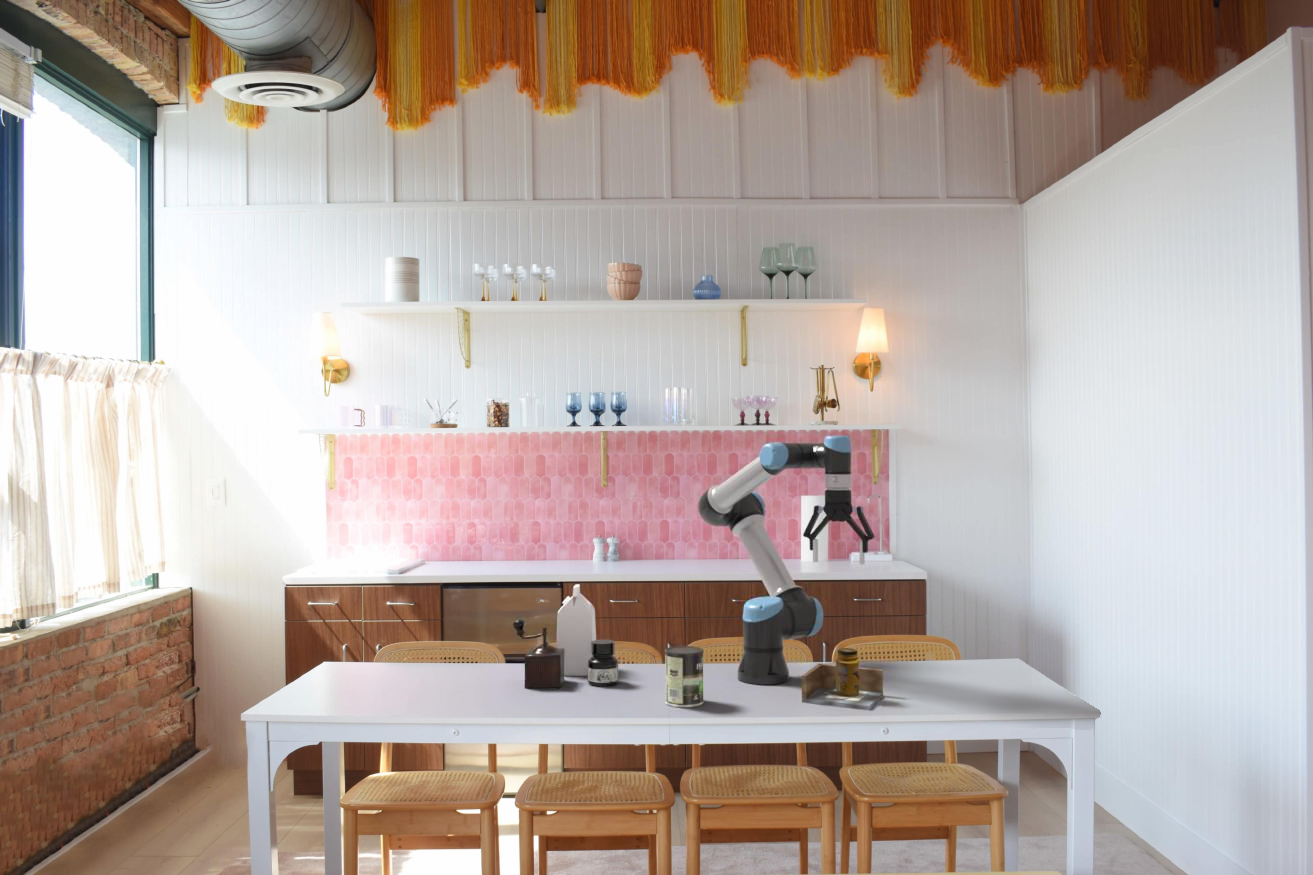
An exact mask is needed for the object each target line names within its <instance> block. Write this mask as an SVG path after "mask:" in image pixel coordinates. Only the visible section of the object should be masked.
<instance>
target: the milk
mask: <svg viewBox="0 0 1313 875" xmlns="http://www.w3.org/2000/svg"><path fill="white" fill-rule="evenodd" d="M561 604H563V605H562V606H561V607H560V608H559V609H558V611H557V616H556V617H557V619H556V645H555V648H558V649H564V677H565V676H566V677H568V676H573V677H575V676H579V677H580V676H581V677H582V676H583V677H584V676H587V677H588V660H589V659H590V658H591V657H592V656H593V655H592V654H591V653H592V652H591V642H592V641H594V640H597V633H596V611H595V610H596V609H595V606H594V605H593V604H592V602H590V600H588V599H587V598H586V597H585V596H584V595H583V594H582V593H581V585H580V584H575V585H574V586H573V588H572V596H571V597H570V596H566V598H565V599H564V600H563V601H562V602H561Z"/></svg>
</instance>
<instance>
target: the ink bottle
mask: <svg viewBox="0 0 1313 875" xmlns="http://www.w3.org/2000/svg"><path fill="white" fill-rule="evenodd" d="M615 644H616V643H615V640H612V639H596V640H594V641H592V642H591V652H592V653H591V654H592V655H593V656H592V657H591V658H590V659H589V660H588V676H587V683H588V684H589V685H590V686H595V687H610V686H615V685H616V684H618V683H619V659H618V658H617V657H615V652H616V651H615V650H616V649H615V648H616V645H615Z"/></svg>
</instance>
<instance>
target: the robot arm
mask: <svg viewBox="0 0 1313 875" xmlns="http://www.w3.org/2000/svg"><path fill="white" fill-rule="evenodd" d="M851 444H852V443H851V437H849V436H848V435H826V436H825V437H824V441H823V442H820V443H819V442H778V441H775V442H769V443H765V444H764V445H762V447H761V449H760V450H759V451H760V452H759V456H758V457H756V458H755V459H753V460H752V461H751V462H749V463H748V464H747V465H744V467H742V468H741V469H739V471H737V472H736V473H734V474H733V475H731V476H730V477H728V479H726V480H724V481H723V482H721V484H715V485H712V486H711V487H709V488H708V489H707V490H706V491H704V492H703V494H702V495H701V496H700V498H699V501H698V505H697V506H698V507H697V508H698V512H699V515H700V517H701V519H702V520H703V521H704V522H706V523H707V524H709V525H710V526H713V527H728V528H729V530H730V532H731V534H732V535H733V536H734V537H735V538H739V539H740V541H741V543H742V544H743V547H744V548H745V550H746V552H747V555H748V556H749V559H750V561H751V562H752V564H753V566H754V568H755V570H756V571H757V573H758V575H759V577H760V579H761V581H762V583H763V585H764V587H765V589H766V591H767V593H768V594H769V596H760V597H759V596H758V597H755V598H750V599H749V600H747V601H746V602H745V603H744V605H743V612H742V613H743V614H742V622H743V624H742V626H743V627H742V628H743V629H742V630H743V632H742V635H743V637H742V638H743V642H742V645H743V648H742V649H743V653H742V655H741V658H740V662H739V665H738V668H737V680H738V681H741V682H743V683H747V684H752V685H778V684H783V683H786V682H788V681H789V680H790V670H789V666H788V665H787V664H788V663H787V661H786V657H785V655H784V641H786V640H794V639H800V638H802V639H803V638H805V639H806V638H807V637H810V636H814V635H816V634H817V633H818V632H819V631H820V629H821V628H822V625H823V624H824V623H823V622H824V610H823V606H822V604H821V602H820V601H819V600H818V599H817V598H815V597H813V596H808V595H807V593H806V591H805V589H804V588H803V587H802V586H801V585H796V582H795V581H794V579H793V577H792V576H791V574H790V572H789V570H788V568H787V567H786V565H785V563H784V561H783V559H782V557H781V556H780V554H779V552H778V550H777V548H776V546H775V544H774V542H773V541H772V539H771V536H770V535H769V533H768V532H767V530H766V528H765V526H764V524H765V523H766V522H765V521H766V519H765V516H766V512H767V511H766V509H765V508H766V504H765V501H764V499H763V497H762V496H761V495H760V494H759V493H758V492H756V490H757V489H758V488H760V487H761V486H763V485H764V484H765V483H767V482H768V481H770V480H771V479H772V478H774V477H775V476H777V475H779V474H781V473H782V472H783V471H785V470H788V469H791V470H792V469H793V470H795V469H796V470H797V469H804V470H805V469H809V470H811V469H824V488H825V490H824V506H821V505H818V504H817V505H814V507H813V514H812V516H811V517H810V519H809V521H808V524H807V526H806V528H805V530H804V531H803V534H802V535H803V537H804V538H807V539H809V550H810V551H812V562H813V563H818V562H819V539H818V538H817V536H818V535H820V533H821V532H822V530H823V529H824V528H825V527H826V526H827V525H828V524H829V523H830V521H831V522H834V523H835V522H840V523H842V522H846V523H847V524H848V525H849V526H850V527H851V528H852V530H853V531H854V532H855V533H856V535H857V537H859V538H860V540H861V541H859V565H862V566H863V565H865V554H866V553H868V551H869V541H870V540H873V539H875V537H876V536H875V534H874V532H873V530H872V528H871V526H870V524H869V522H868V520H867V518H866V516H865V514H864V508H863V506H860V505H859V506H856V507H855V506H853V505H852V491H851V490H850V489H851V488H852V451H853V450H852V445H851ZM823 512H824V514H825V516H824V518H823V519H822V521H821V522H820V523H819V524H818V525H817V527H816V528H815V529H814V527H815V525H816V523H817V520H818V518H819V516H820V515H821V513H823ZM853 512H854V514H855V515H857V518H858V520H859V521H860V523H861V526H862V528H863V529H861V527H860V526H859V525H858V523H856V521H855V519H854V518H853V517H852V516H851V515H852V514H853ZM813 529H814V530H813ZM863 530H864V531H863ZM816 538H817V539H816Z"/></svg>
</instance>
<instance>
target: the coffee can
mask: <svg viewBox="0 0 1313 875" xmlns="http://www.w3.org/2000/svg"><path fill="white" fill-rule="evenodd" d="M664 653H665V664H664V665H665V667H664V668H665V702H664V703H665V704H666V705H667V706H669V707H674V708H683V709H684V708H685V709H686V708H687V709H688V708H696V707H701V706H703V704H704V703H705V702H704V649H703V648H702V647H699V646H698V647H697V646H692V645H691V646H690V645H678V646H677V645H675V646H669V647H667V648H665V649H664Z"/></svg>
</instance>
